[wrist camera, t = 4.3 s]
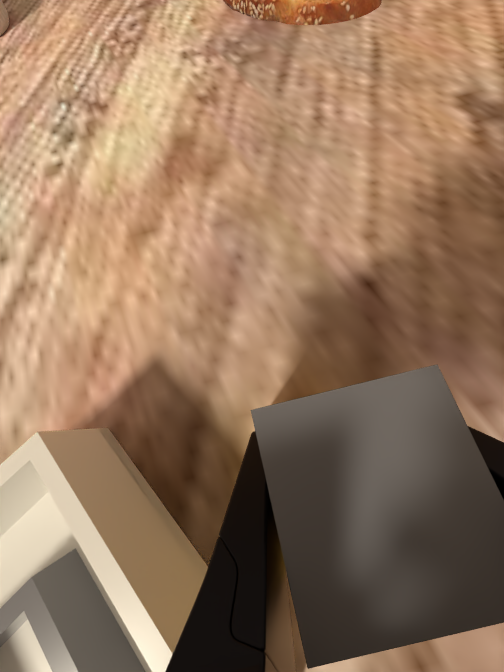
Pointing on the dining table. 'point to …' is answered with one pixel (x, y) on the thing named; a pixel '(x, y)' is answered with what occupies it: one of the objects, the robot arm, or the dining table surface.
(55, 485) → the socket box
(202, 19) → the dining table surface
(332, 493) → the plug
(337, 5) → the bread slice
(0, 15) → the ramekin
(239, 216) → the dining table surface
